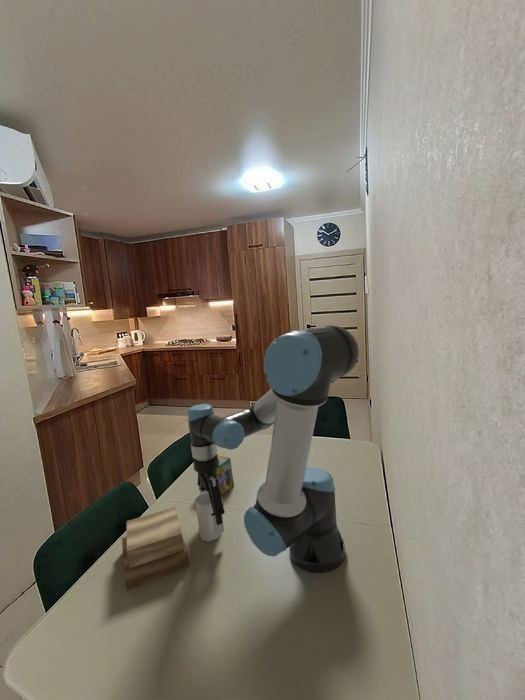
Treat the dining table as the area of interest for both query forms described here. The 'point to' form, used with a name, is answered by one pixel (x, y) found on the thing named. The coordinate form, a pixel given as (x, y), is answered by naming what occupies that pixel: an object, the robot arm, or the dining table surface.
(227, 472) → the chalk box
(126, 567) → the wooden stepped stand
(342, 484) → the dining table surface
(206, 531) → the mug
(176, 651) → the dining table surface
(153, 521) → the beech slab
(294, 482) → the robot arm
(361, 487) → the dining table surface
